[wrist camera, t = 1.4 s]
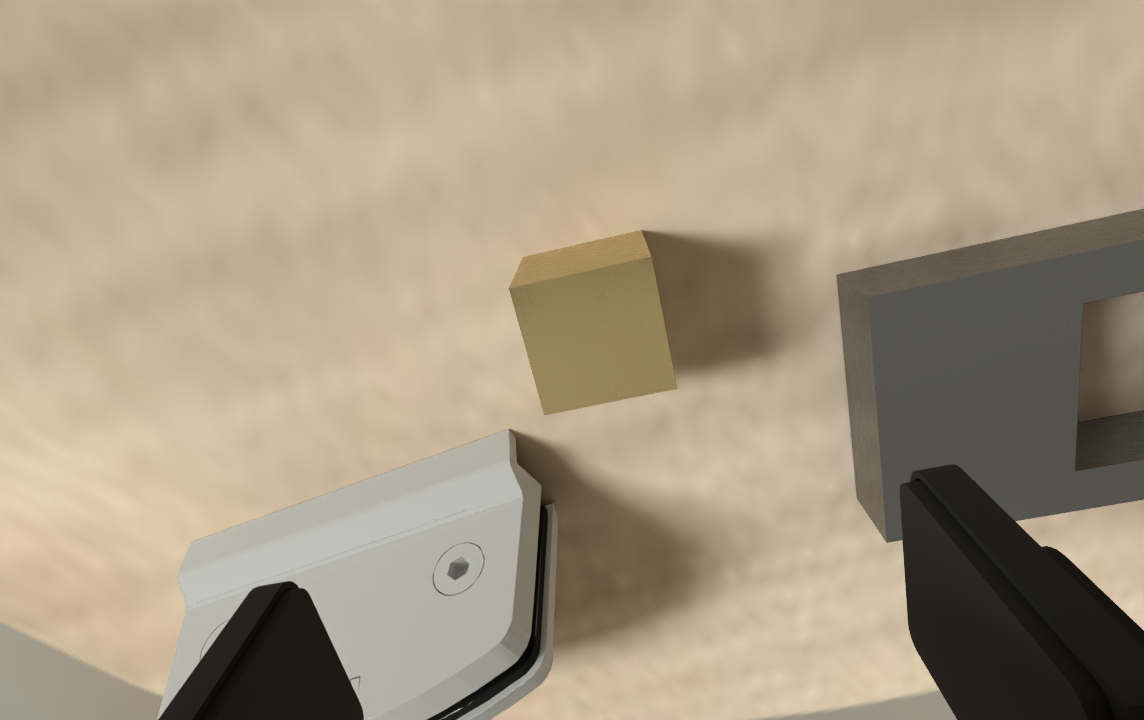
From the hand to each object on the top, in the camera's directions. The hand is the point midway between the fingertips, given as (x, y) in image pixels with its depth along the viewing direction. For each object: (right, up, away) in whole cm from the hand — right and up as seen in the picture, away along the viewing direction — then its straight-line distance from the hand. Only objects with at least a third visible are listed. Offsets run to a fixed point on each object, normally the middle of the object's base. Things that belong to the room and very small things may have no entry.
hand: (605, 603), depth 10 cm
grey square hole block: (+20, +4, +15) cm, 25 cm away
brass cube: (0, +6, +15) cm, 16 cm away
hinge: (-9, -5, +20) cm, 22 cm away
